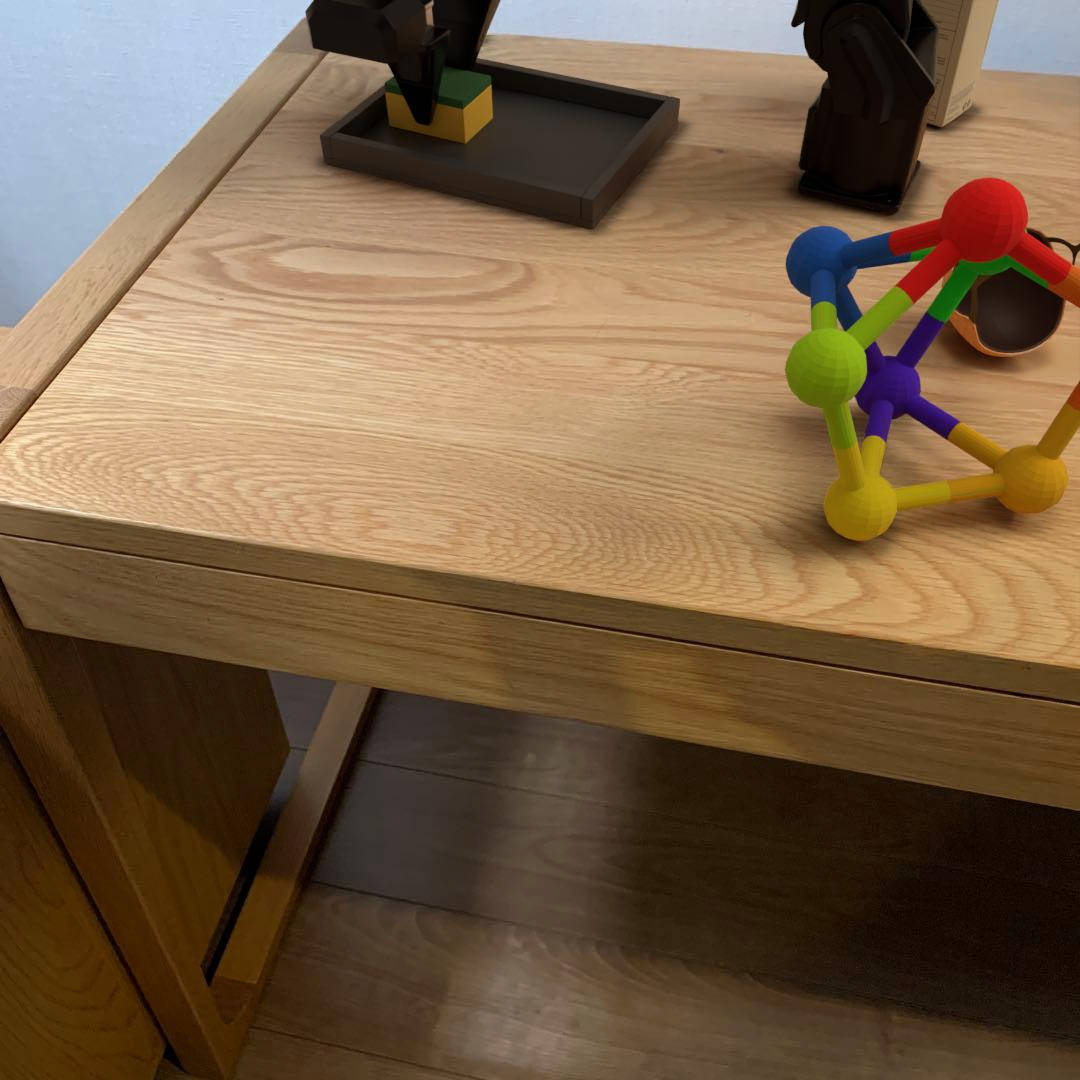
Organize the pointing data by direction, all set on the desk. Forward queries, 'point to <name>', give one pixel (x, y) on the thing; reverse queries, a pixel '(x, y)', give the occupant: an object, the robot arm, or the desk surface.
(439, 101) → the sponge
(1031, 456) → the educational toy
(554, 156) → the tray
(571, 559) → the desk surface
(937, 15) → the cosmetic box
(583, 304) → the desk surface
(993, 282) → the helmet
